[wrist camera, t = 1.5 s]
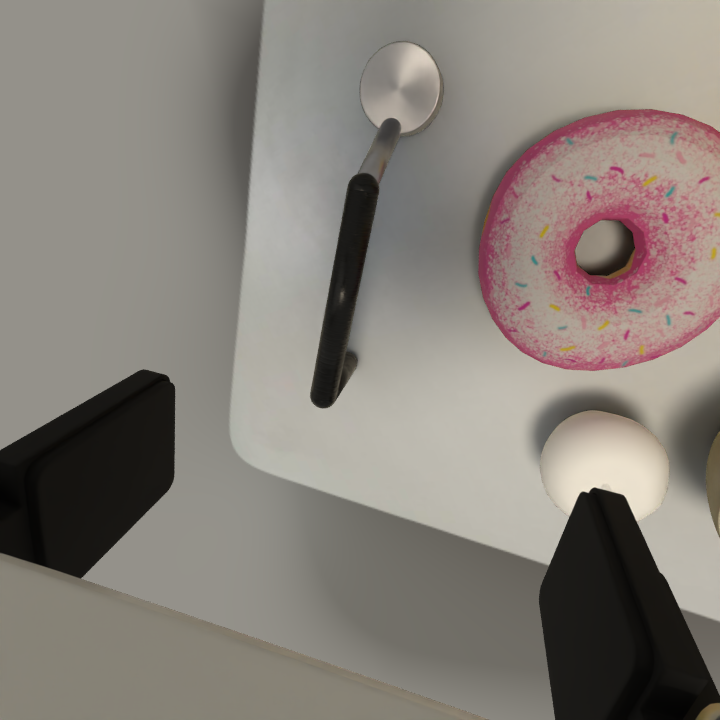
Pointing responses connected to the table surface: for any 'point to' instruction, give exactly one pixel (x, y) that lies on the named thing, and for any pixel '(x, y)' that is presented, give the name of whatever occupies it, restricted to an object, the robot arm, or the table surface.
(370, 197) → the ladle
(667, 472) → the apple
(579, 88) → the table surface
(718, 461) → the flower pot
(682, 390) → the table surface
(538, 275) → the donut
